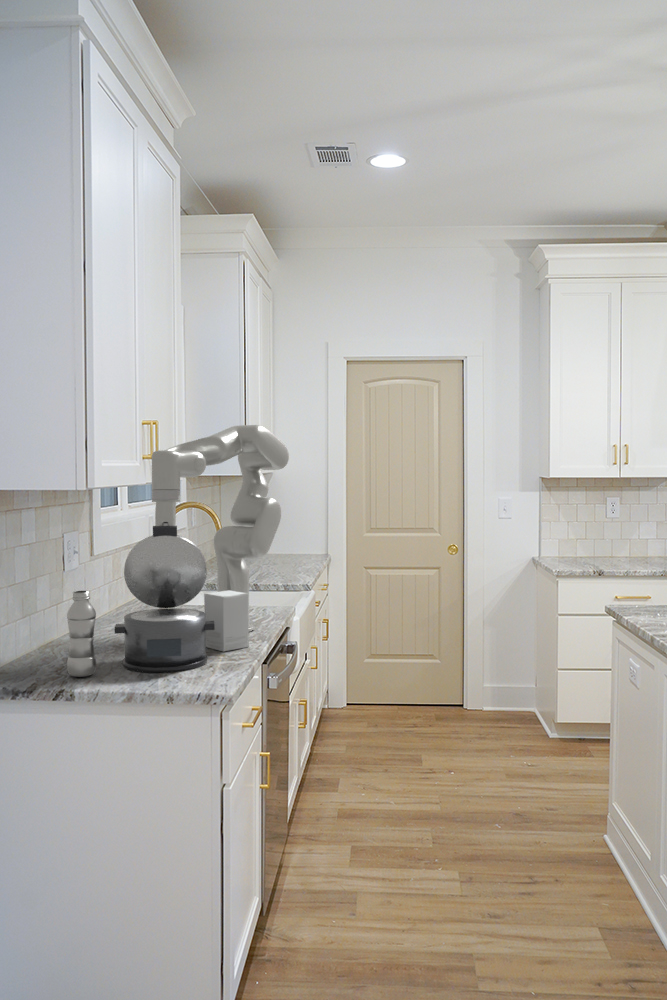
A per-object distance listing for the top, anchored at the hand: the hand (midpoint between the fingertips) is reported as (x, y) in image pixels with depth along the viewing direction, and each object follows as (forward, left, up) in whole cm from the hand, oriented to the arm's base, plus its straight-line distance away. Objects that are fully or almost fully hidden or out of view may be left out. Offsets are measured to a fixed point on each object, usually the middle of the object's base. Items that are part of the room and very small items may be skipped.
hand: (166, 564), depth 213 cm
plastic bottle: (+25, -19, -23) cm, 39 cm away
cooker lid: (+9, 0, 0) cm, 9 cm away
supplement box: (0, +16, -23) cm, 28 cm away
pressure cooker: (+15, 0, -23) cm, 27 cm away
